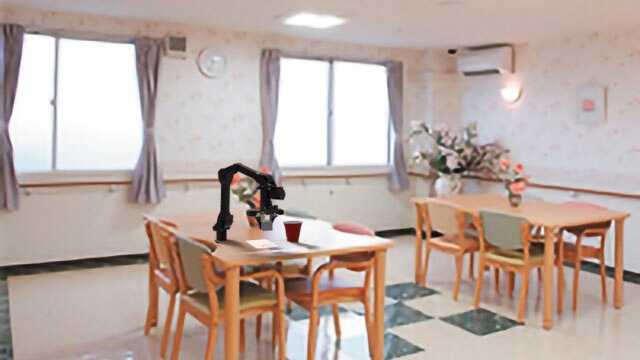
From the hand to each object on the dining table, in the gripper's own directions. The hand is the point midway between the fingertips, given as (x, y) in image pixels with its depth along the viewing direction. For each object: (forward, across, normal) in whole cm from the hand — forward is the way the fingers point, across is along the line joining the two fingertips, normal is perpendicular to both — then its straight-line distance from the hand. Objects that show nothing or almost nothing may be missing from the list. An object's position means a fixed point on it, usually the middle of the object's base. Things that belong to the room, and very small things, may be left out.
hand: (265, 229), depth 300 cm
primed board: (+10, 0, +5) cm, 11 cm away
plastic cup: (+10, +18, +7) cm, 22 cm away
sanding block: (0, 0, 0) cm, 0 cm away
